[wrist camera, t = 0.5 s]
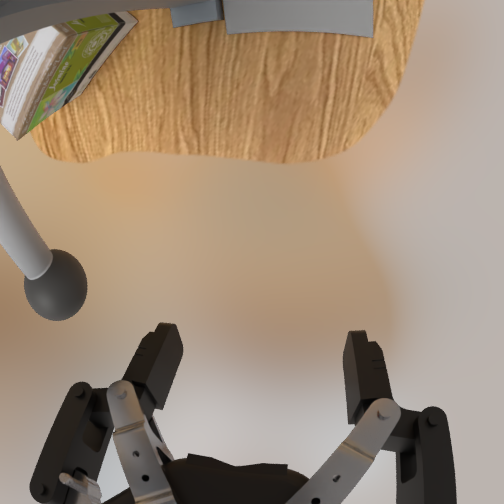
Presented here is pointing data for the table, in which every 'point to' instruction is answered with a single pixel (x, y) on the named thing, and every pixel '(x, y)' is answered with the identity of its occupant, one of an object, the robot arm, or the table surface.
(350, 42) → the table surface
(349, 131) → the table surface
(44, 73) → the tea box
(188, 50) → the table surface
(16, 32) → the press
